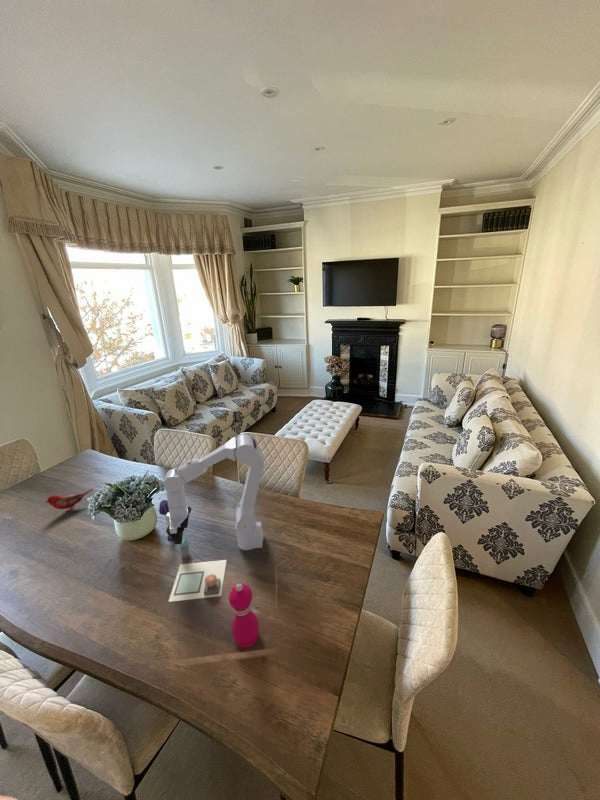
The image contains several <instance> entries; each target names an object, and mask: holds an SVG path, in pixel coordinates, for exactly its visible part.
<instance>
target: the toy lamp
mask: <svg viewBox="0 0 600 800" xmlns="http://www.w3.org/2000/svg"><path fill="white" fill-rule="evenodd" d="M158 512H159V514H160V515H162V516H164V517H165V519H166V523H167V527H170V519H169V518H167V517H166V515H167V513H168V512H169V507H168V500H167V499H163V500H161V501H160V502H159V509H158ZM167 539H168V540H169V541H173V539H172V537H171V536H170V535H169V534H167Z"/></svg>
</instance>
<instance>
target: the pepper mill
mask: <svg viewBox="0 0 600 800" xmlns="http://www.w3.org/2000/svg"><path fill="white" fill-rule="evenodd" d="M228 600H229V601H228V603H229V605H230V607H232V611H233V613H234V614H235V616H234V618H233V621H232V625H231V633H232V636H233V638H234V640H235V643H236V644H237V646H239V647H240V648H249V647H252V646H253V645H255V643H256V642H257V640H258V639H259V628H260V623H259V619H258V617H257V615H256V614H255V613H254V611H252V605H253V604H252V602H253V601H252V600H253V591H252V589H251V587H250V586H249V584H245V583H238V584H236V585H234V586H233V588H232V589H231V590H230V592H229V595H228Z"/></svg>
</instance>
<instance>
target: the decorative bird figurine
mask: <svg viewBox="0 0 600 800" xmlns="http://www.w3.org/2000/svg"><path fill="white" fill-rule="evenodd" d="M93 490H94V488H91V489H89V490H87V491H85V492H83V493H80V494H79V493H78V494H77V493H76V494H70V495H64V496H63V495H50V496H48V498H47V501H45V504H49V505H50V506H52V507H53V508H55V509H58V510H64V511H62V513H66V512H69V511H71V510H74V509H75V508H76V507H75V505H76V504H78V503H79V502H81V500H82V499H83V498H84V496H86V495H87V494H89V493H90V492H92V491H93Z"/></svg>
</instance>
